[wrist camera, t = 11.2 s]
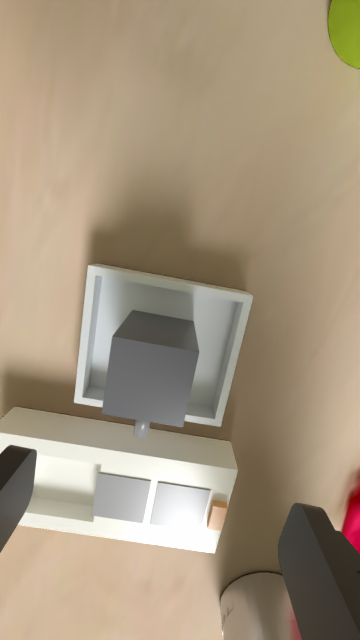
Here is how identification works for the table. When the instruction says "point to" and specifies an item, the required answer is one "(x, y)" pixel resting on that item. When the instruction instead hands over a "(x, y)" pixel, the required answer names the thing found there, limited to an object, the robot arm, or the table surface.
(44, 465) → the power strip
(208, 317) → the tray
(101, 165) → the table surface
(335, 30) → the soap dispenser
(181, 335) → the block
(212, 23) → the table surface
